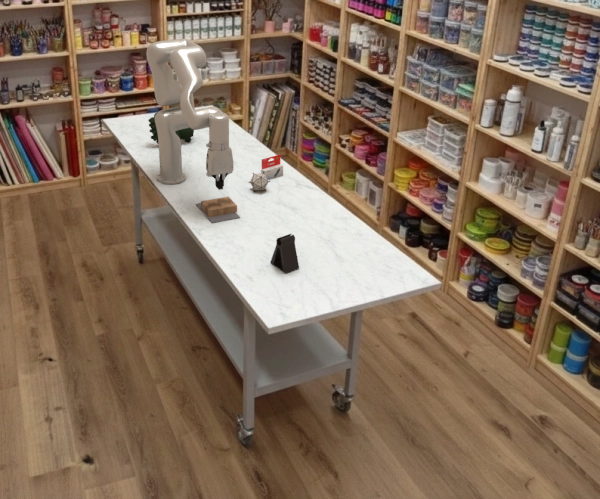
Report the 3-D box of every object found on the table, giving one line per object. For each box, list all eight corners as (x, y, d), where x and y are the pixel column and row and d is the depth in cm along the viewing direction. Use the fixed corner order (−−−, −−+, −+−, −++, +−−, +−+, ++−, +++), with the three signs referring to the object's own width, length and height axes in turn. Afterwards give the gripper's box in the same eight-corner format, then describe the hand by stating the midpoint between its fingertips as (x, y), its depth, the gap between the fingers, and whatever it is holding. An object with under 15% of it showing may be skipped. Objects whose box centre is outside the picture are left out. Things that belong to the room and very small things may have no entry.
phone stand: (270, 263, 251) (271, 233, 245) (283, 258, 254) (284, 229, 248) (285, 273, 245) (287, 244, 239) (299, 268, 248) (300, 239, 243)
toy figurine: (158, 154, 337) (204, 141, 349) (152, 117, 327) (200, 105, 338) (149, 148, 344) (195, 135, 355) (144, 111, 334) (191, 99, 345)
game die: (261, 199, 304) (266, 188, 295) (244, 190, 304) (247, 179, 295) (270, 183, 308) (274, 172, 299) (252, 175, 308) (256, 163, 299)
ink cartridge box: (283, 175, 318) (284, 155, 314) (264, 181, 312) (264, 161, 307) (279, 174, 320) (280, 154, 315) (260, 179, 313) (261, 159, 309)
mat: (195, 204, 289) (195, 203, 288) (223, 199, 294) (222, 198, 294) (211, 223, 275) (211, 222, 275) (240, 218, 280) (240, 217, 280)
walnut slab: (228, 203, 290) (201, 207, 285) (228, 196, 289) (201, 201, 284) (237, 212, 284) (209, 217, 278) (237, 205, 282) (209, 210, 277)
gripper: (204, 150, 265) (205, 195, 274) (240, 145, 271) (240, 189, 280) (197, 144, 270) (198, 187, 279) (233, 139, 277) (233, 181, 286)
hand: (219, 188), depth 280 cm, fingers closed
